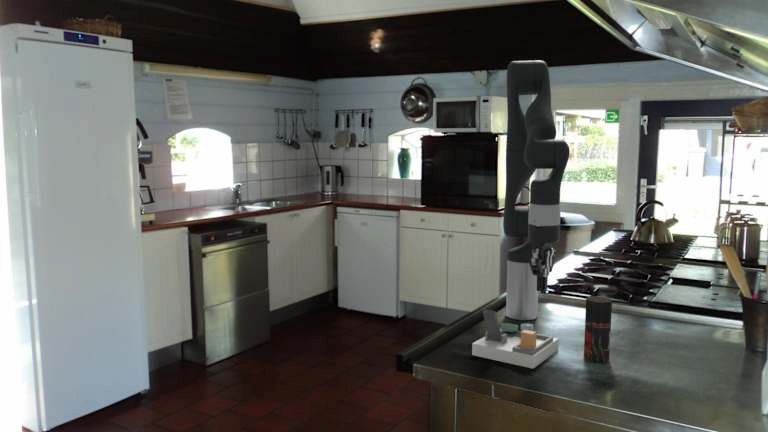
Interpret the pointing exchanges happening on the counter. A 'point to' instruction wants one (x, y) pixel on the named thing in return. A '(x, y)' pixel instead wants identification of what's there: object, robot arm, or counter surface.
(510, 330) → the block
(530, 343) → the slider knob
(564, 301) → the counter surface
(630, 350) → the counter surface
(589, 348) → the deodorant
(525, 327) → the push button
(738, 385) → the counter surface
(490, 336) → the paddle lever
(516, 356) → the panel
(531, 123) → the robot arm
